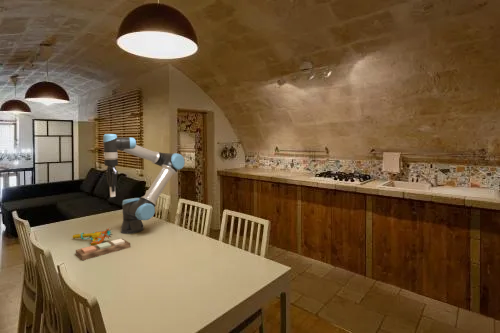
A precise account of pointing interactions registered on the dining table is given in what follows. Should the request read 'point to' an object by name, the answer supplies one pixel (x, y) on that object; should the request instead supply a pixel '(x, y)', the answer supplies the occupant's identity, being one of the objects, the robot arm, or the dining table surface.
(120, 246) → the board
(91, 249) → the tile terracotta
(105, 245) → the tile sage
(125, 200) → the robot arm
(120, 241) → the tile cream
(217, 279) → the dining table surface
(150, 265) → the dining table surface
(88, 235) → the toy gun
